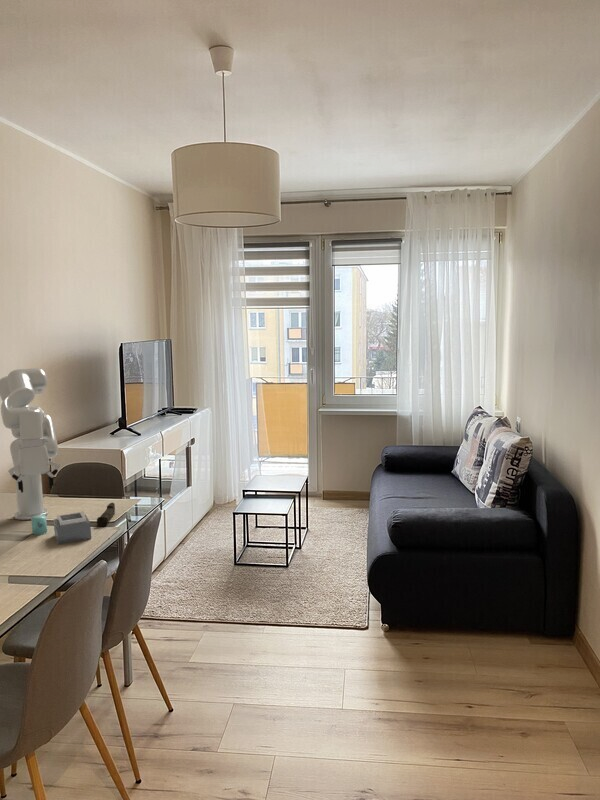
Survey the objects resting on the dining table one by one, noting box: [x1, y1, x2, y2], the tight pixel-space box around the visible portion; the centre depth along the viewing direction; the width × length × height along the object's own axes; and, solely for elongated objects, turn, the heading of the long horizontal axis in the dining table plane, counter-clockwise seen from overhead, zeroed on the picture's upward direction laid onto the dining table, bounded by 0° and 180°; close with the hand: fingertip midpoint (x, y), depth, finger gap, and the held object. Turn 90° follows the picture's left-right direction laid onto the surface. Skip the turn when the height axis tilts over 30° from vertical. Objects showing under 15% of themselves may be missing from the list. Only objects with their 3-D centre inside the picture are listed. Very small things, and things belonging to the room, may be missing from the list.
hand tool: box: [96, 502, 116, 527], centre depth 250 cm, size 19×4×5 cm, turn 1°
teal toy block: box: [30, 515, 48, 536], centre depth 235 cm, size 7×5×6 cm
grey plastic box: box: [53, 511, 92, 545], centre depth 229 cm, size 11×11×8 cm
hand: (36, 489), depth 234 cm, fingers open, 9 cm apart
